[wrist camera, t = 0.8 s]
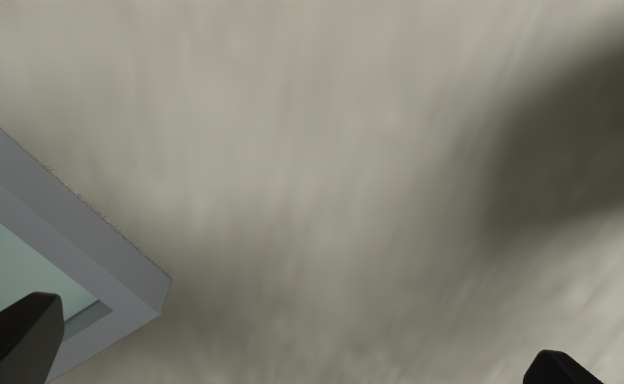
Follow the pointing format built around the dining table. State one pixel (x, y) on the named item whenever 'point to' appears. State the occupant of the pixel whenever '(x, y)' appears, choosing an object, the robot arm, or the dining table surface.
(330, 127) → the dining table surface
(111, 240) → the socket
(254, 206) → the dining table surface
